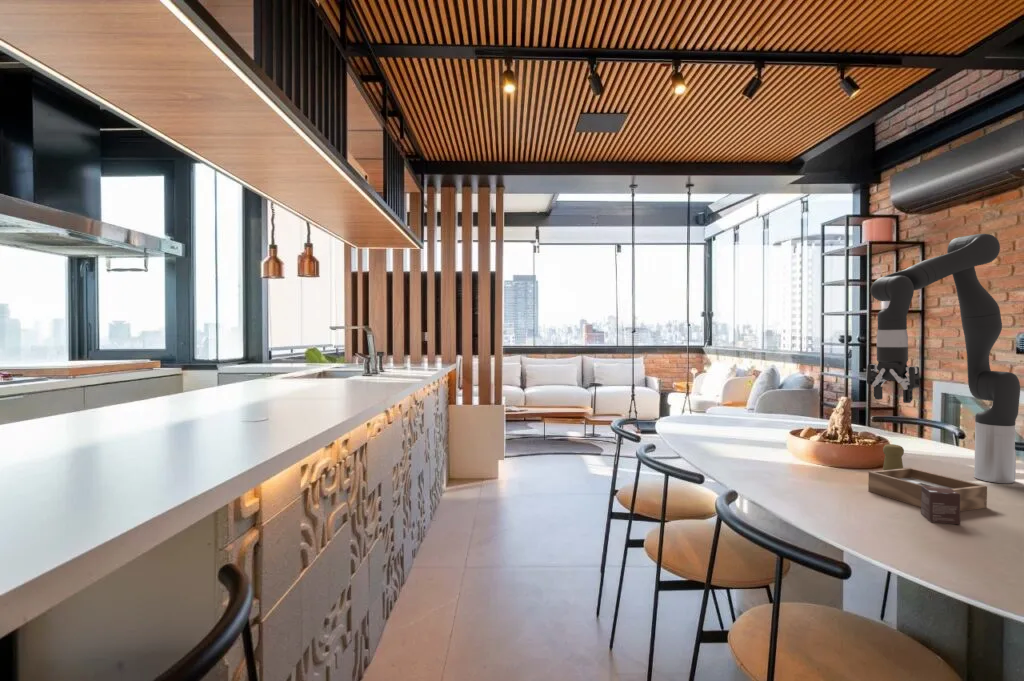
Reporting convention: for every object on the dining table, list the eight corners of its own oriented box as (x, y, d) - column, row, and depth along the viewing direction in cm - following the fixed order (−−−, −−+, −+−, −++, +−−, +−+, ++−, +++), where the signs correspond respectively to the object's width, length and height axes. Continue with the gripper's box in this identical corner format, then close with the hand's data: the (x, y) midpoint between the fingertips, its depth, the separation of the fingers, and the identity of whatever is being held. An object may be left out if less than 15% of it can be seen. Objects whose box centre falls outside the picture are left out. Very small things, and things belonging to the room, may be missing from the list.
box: (949, 517, 135) (950, 487, 135) (960, 525, 129) (961, 494, 129) (920, 514, 137) (920, 485, 137) (929, 522, 131) (930, 491, 131)
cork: (909, 484, 164) (909, 447, 163) (886, 483, 165) (887, 446, 165) (899, 478, 170) (899, 443, 169) (877, 477, 171) (877, 442, 171)
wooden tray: (910, 486, 161) (910, 467, 161) (986, 507, 142) (987, 486, 142) (868, 491, 156) (868, 471, 156) (941, 513, 137) (942, 491, 137)
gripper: (926, 345, 155) (926, 403, 155) (878, 344, 168) (878, 397, 169) (907, 346, 152) (907, 405, 153) (860, 345, 166) (860, 399, 166)
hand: (892, 401), depth 161 cm, fingers open, 8 cm apart
